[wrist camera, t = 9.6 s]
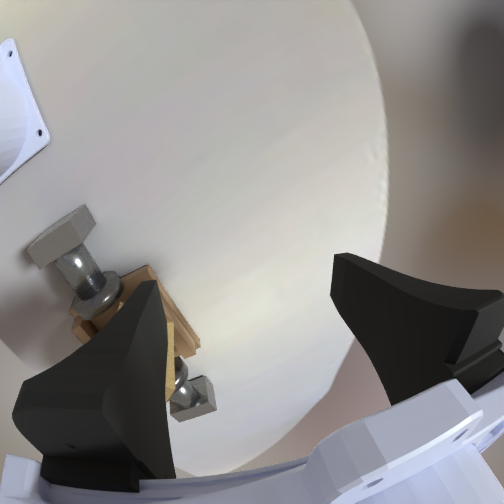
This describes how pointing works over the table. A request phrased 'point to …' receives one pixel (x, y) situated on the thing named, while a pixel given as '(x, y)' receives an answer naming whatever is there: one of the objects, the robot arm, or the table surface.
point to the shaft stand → (117, 304)
